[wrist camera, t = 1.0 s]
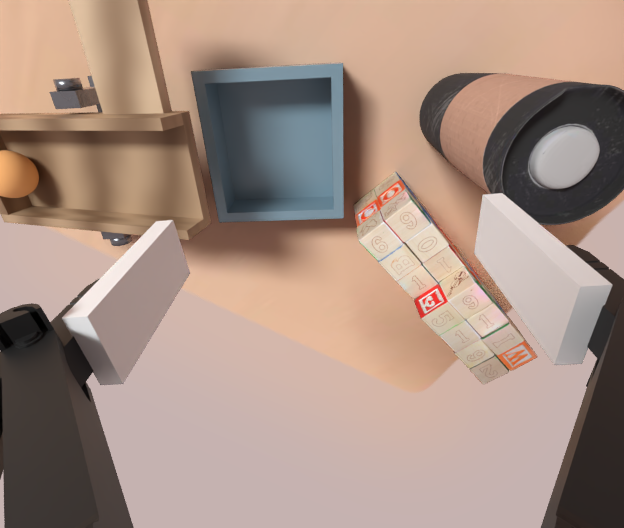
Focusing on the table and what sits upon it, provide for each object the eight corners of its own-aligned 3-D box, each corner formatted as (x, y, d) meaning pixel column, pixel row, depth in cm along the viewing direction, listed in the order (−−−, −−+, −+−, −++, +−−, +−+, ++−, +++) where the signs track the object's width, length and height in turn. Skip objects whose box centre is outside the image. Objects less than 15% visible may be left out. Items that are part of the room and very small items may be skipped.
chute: (62, 199, 39) (4, 222, 34) (-30, -29, 30) (-131, -47, 24) (227, 210, 34) (189, 239, 29) (180, -64, 24) (109, -97, 19)
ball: (-1, 146, 32) (-45, 156, 29) (39, 145, 32) (-2, 156, 28) (19, 189, 34) (-20, 204, 31) (56, 189, 34) (21, 204, 30)
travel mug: (449, 166, 39) (547, 251, 22) (400, 117, 37) (468, 170, 20) (509, 108, 36) (679, 154, 19) (460, 51, 34) (603, 44, 17)
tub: (229, 205, 42) (219, 222, 38) (207, 69, 35) (190, 71, 31) (341, 201, 42) (343, 218, 37) (340, 62, 35) (342, 63, 30)
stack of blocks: (350, 205, 42) (360, 255, 31) (395, 169, 40) (421, 210, 29) (449, 316, 50) (484, 387, 39) (491, 291, 47) (540, 359, 37)
